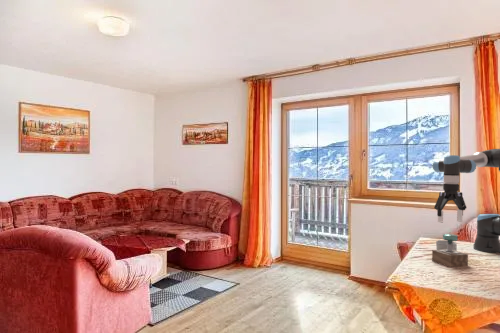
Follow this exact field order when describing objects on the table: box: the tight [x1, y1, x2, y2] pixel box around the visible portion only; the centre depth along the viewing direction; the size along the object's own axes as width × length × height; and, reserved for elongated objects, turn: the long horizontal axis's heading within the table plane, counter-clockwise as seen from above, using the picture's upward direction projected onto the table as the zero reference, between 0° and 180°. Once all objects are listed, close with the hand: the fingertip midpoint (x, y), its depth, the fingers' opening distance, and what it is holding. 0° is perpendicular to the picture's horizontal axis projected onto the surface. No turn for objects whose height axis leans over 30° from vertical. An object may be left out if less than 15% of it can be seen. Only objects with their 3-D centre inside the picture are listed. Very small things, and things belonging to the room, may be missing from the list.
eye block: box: [431, 249, 469, 268], centre depth 187 cm, size 12×12×6 cm
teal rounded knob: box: [442, 233, 459, 253], centre depth 187 cm, size 7×7×15 cm
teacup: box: [435, 239, 458, 251], centre depth 205 cm, size 14×11×8 cm
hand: (450, 222), depth 187 cm, fingers open, 13 cm apart
